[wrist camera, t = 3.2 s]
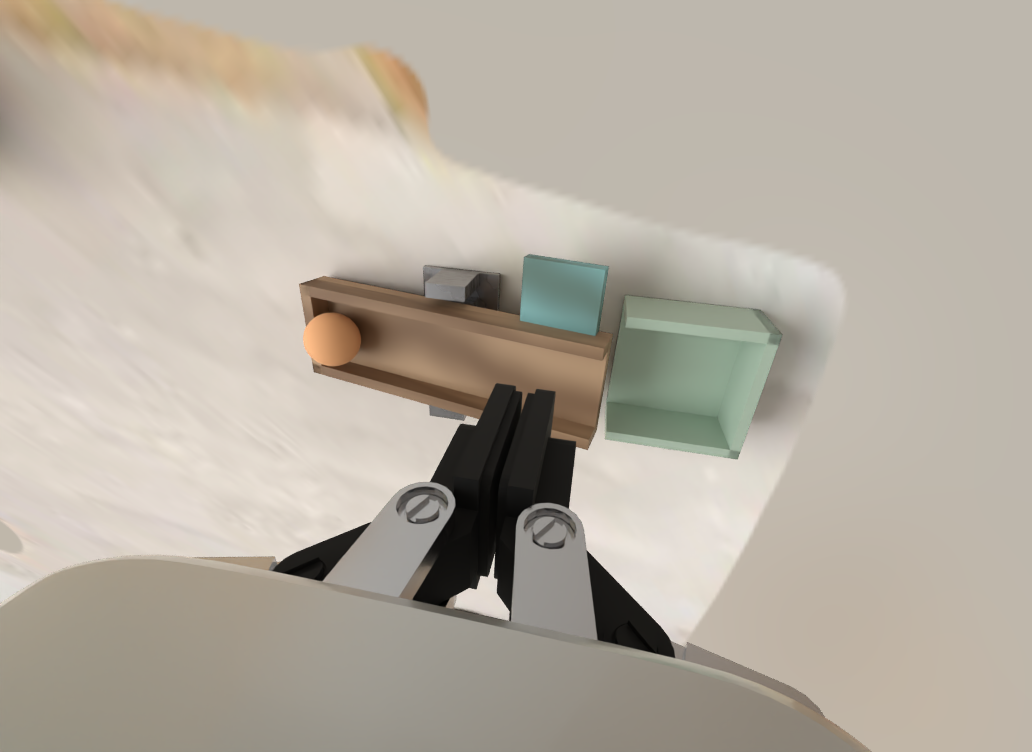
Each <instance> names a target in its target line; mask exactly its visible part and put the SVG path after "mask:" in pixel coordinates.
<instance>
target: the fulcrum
mask: <svg viewBox="0 0 1032 752" xmlns="http://www.w3.org/2000/svg"><path fill="white" fill-rule="evenodd" d="M423 274H424V296H425V298H433V299H441V300H446V301H451V302H456V303H461V304H466V305H471V306H476V307H481V308H486V309H491V310H496V311H498V309H499V285H500V273H491V272H481V271H472V270H463V269H454V268H444V267H435V266H426V265H425V266H424V267H423ZM429 408H430V416H437V417H444V418H450V419H457V420H463V421H464V420H465V418H466V415H463V414H459V413H456V412H452V411H449V410H445V409H442V408H438V407H435V406H431V405H429Z"/></svg>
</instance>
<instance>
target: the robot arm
mask: <svg viewBox="0 0 1032 752" xmlns="http://www.w3.org/2000/svg"><path fill="white" fill-rule="evenodd" d="M522 395H523V394H522V392H520V391H516V386H514V385H507V384H500V383H496V384H495V386H494V388H493V391H492V393H491V395H490V397H489V399H488V401H487V404H486V406H485V408H484V410H483V412H482V414H481V417H480V419H479V421H478V423H477V425H476V426H474V425H467V424H460V426H459V427H458V429H457V431H456V433H455V435H454V437H453V438H452V440H451V442H450V444H449V446H448V448H447V450H446V452H445V454H444V456H443V458H442V460H441V462H440V464H439V466H438V467H437V469H436V471H435V473H434V475H433V477H432V479H431V481H430V482H418V483H415V484H411V485H408V486H406V487H404V488H402V489H401V490H399V491H398V492H397V493H396V494H395V495H394V496H393V497H392V498H391V500H390V501H389V502H388V503H387V504H386V506H385V507H384V508H383V509H382V510H381V512H380V513H379V514H378V515H377V516H376V518H375V519H374V520H373V521H372V522H370V523H367V524H365V525H362V526H360V527H358V528H355V529H353V530H350V531H348V532H345V533H343V534H340V535H338V536H335V537H333V538H330V539H328V540H325V541H323V542H321V543H318V544H316V545H313V546H311V547H308V548H306V549H303V550H301V551H298V552H296V553H294V554H292V555H290V556H288V557H287V558H285V559H284V560H283V561H281V562H276V558H275V557H184V556H169V555H133V556H121V557H113V558H106V559H98V560H93V561H89V562H84V563H80V564H77V565H73V566H69V567H66V568H63V569H61V570H58V571H56V572H53V573H51V574H48V575H46V576H45V577H43V578H41V579H39V580H37V581H35V582H33V583H31V584H30V585H28V586H26V587H25V588H23V589H21V590H20V591H18V592H17V593H15V594H13V595H12V596H10V597H9V598H7V599H6V600H4V601H3V602H1V603H0V752H871V751H870V750H869V749H868V748H867V747H866V746H864V745H863V744H862V743H860V742H859V741H858V740H857V739H855V738H854V737H853V736H851V735H850V734H849V733H847V732H846V731H844V730H843V729H841V728H840V727H839V726H837V725H836V724H834V723H833V722H831V721H830V720H828V719H826V718H825V716H824V715H823V713H822V712H821V710H820V709H819V708H818V707H817V706H816V705H815V704H814V703H813V702H812V701H811V700H810V699H809V698H808V697H807V696H806V695H804V694H802V693H801V692H799V691H798V690H796V689H794V688H792V687H791V686H789V685H786V684H784V683H782V682H779V681H777V680H775V679H772V678H770V677H768V676H765V675H763V674H761V673H758V672H756V671H754V670H751V669H749V668H747V667H744V666H742V665H740V664H737V663H735V662H733V661H730V660H728V659H725V658H723V657H721V656H719V655H716V654H714V653H711V652H709V651H707V650H704V649H702V648H700V647H697V646H695V645H693V644H690V643H688V642H687V644H686V647H683V646H681V645H679V644H676V643H674V642H672V641H670V639H669V637H668V636H667V634H666V633H665V632H664V630H663V629H662V628H661V626H660V625H659V624H658V623H657V622H656V621H655V620H654V619H653V618H652V617H651V616H650V615H649V614H648V613H647V612H646V611H645V610H644V609H643V608H642V607H641V606H640V605H639V604H638V603H637V602H636V601H635V600H634V599H633V598H632V597H631V595H630V594H629V593H628V592H627V591H626V590H625V589H624V588H623V587H622V586H621V585H620V584H619V583H618V582H617V581H616V580H615V579H614V578H613V577H612V576H611V575H610V574H609V573H608V572H607V571H606V570H605V569H604V568H603V567H602V566H601V564H600V563H599V562H598V561H597V560H596V559H595V558H594V557H593V556H592V555H591V554H590V553H589V552H588V551H587V550H586V542H585V534H584V528H583V525H582V522H581V521H580V519H579V518H578V517H577V515H576V514H575V513H573V512H572V511H571V510H569V502H570V493H571V484H572V476H573V467H574V458H575V450H576V441H570V440H564V439H557V438H551V431H552V422H553V413H554V404H555V395H556V391H550V390H543V389H536V391H535V394H534V393H528V394H527V397H526V400H525V403H524V406H523V409H522ZM521 410H522V413H521ZM494 554H495V568H494V578H496V579H498V581H497V594H498V595H499V597H500V598H501V600H502V601H503V602H504V604H505V605H506V607H507V608H508V610H509V611H510V613H509V621H507V620H502V619H498V618H493V617H488V616H484V615H479V614H474V613H469V612H465V611H460V610H455V609H453V608H454V605H455V602H456V595H457V594H459V593H461V592H463V591H464V590H466V589H468V588H472V589H477V586H478V582H479V579H480V576H486V577H488V575H489V572H490V569H491V565H492V561H493V558H494Z"/></svg>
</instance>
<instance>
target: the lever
mask: <svg viewBox="0 0 1032 752" xmlns="http://www.w3.org/2000/svg"><path fill="white" fill-rule="evenodd" d="M608 268H609V266H603V265H596V264H590V263H583V262H577V261H570V260H564V259H557V258H551V257H544V256H538V255H531V254H529V255H527V256H525V257H524V264H523V279H522V294H521V310H520V315H516V314H511V313H506V312H501V311H496V310H491V309H486V308H481V307H476V306H471V305H466V304H461V303H456V302H451V301H446V300H441V299H433V298H425V296H421V295H416V294H411V293H406V292H401V291H396V290H391V289H386V288H381V287H376V286H371V285H366V284H361V283H356V282H351V281H346V280H341V279H336V278H331V277H326V276H323V277H320V278H317V279H313V280H310V281H307V282H304V283H301V284H299V287H300V293H301V299H302V305H303V310H304V316H305V322H306V326H307V325H308V323H309V322H310V321H311V320H312V319H313V318H315V317H316V316H318V315H321V314H324V313H339V314H342V315H345V316H346V317H348V318H350V319H351V320H352V321H353V322H354V323H355V324H356V326H357V327H358V329H359V331H360V335H361V345H360V349H359V351H358V353H357V355H356V356H355V357H354V358H353V359H352V360H351V361H349V362H348V363H346V364H343V365H340V366H326V365H323V364H320V363H318V362H317V361H315V360H314V359H313V358H312V363H313V369H314V372H316V373H319V374H323V375H326V376H330V377H333V378H337V379H340V380H344V381H347V382H351V383H354V384H358V385H361V386H365V387H368V388H372V389H375V390H379V391H382V392H386V393H389V394H393V395H396V396H400V397H403V398H407V399H410V400H414V401H417V402H421V403H424V404H428V405H431V406H435V407H438V408H442V409H445V410H449V411H452V412H456V413H459V414H463V415H466V416H470V417H474V418H477V419H480V417H481V414H482V412H483V410H484V408H485V406H486V404H487V401H488V399H489V397H490V395H491V393H492V391H493V388H494V386H495V384H496V383H500V384H507V385H514V386H516V391H520V392H522V394H523V395H522V409H523V406H524V403H525V400H526V397H527V394H528V393H534V394H535V391H536V389H543V390H550V391H556V395H555V404H554V413H553V422H552V431H551V438H557V439H564V440H570V441H576V447H579V448H582V449H586V450H588V448H589V446H590V444H591V441H592V439H593V437H594V435H595V433H596V430H597V425H598V419H599V413H600V407H601V401H602V396H603V390H604V384H605V378H606V372H607V366H608V361H609V355H610V349H611V343H612V337H613V334H611V333H606V332H601V331H599V326H600V320H601V313H602V307H603V301H604V294H605V288H606V281H607V275H608ZM521 413H522V410H521Z"/></svg>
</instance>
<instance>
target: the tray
mask: <svg viewBox="0 0 1032 752" xmlns="http://www.w3.org/2000/svg"><path fill="white" fill-rule="evenodd" d="M781 338H782V334H781V333H780V331H779V330H778V329H777V328H776V327H775V326H774V325H773V324H772V322H771V321H770V320H769V319H768V318H767V317H766V316H765V315H764V313H763V312H762V311H761V310H757V309H748V308H739V307H730V306H721V305H711V304H702V303H693V302H684V301H675V300H666V299H657V298H648V297H639V296H630V295H625V299H624V305H623V310H622V316H621V321H620V327H619V333H618V338H617V344H616V350H615V355H614V361H613V367H612V372H611V378H610V384H609V389H608V395H607V400H606V406H605V439H606V440H613V441H619V442H626V443H633V444H639V445H646V446H652V447H659V448H665V449H672V450H679V451H685V452H692V453H698V454H705V455H711V456H718V457H724V458H731V459H738V457H739V454H740V451H741V448H742V446H743V443H744V440H745V437H746V435H747V432H748V429H749V426H750V424H751V421H752V418H753V415H754V412H755V410H756V407H757V404H758V401H759V399H760V396H761V393H762V390H763V388H764V385H765V382H766V379H767V376H768V374H769V371H770V368H771V365H772V363H773V360H774V357H775V354H776V352H777V349H778V346H779V343H780V340H781Z"/></svg>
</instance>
